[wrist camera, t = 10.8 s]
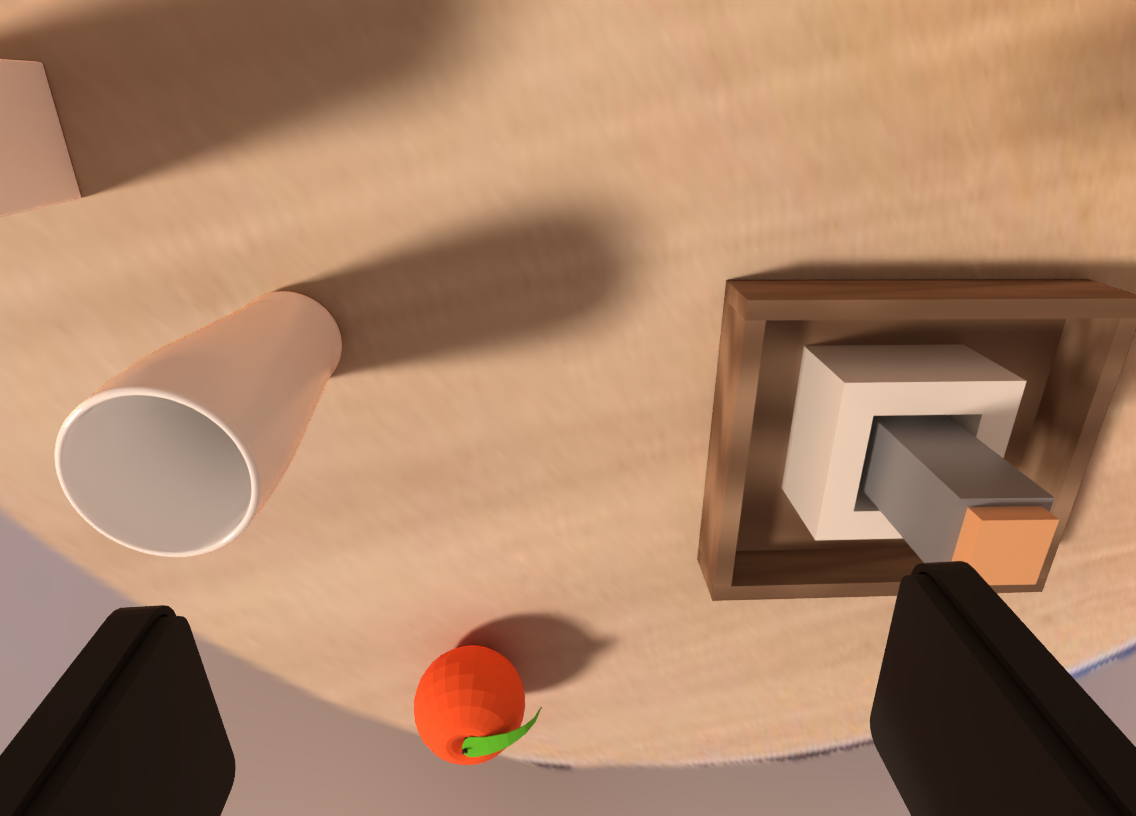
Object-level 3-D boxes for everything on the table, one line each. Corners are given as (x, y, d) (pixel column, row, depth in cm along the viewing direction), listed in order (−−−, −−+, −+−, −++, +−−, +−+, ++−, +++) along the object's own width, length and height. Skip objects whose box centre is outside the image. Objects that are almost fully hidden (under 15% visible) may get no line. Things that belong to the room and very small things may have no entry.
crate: (726, 280, 37) (748, 300, 33) (1087, 279, 38) (1147, 298, 34) (697, 559, 44) (712, 600, 41) (1000, 551, 45) (1042, 591, 42)
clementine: (533, 613, 46) (534, 699, 39) (547, 691, 48) (550, 783, 42) (411, 629, 46) (392, 718, 39) (433, 706, 48) (418, 801, 42)
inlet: (803, 345, 38) (844, 382, 33) (963, 344, 39) (1026, 380, 34) (781, 487, 42) (815, 540, 37) (927, 485, 42) (979, 536, 37)
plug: (855, 400, 38) (975, 511, 28) (927, 400, 38) (1072, 511, 28) (841, 465, 39) (950, 593, 29) (911, 465, 39) (1042, 592, 29)
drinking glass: (377, 309, 37) (288, 436, 23) (333, 414, 39) (228, 586, 25) (249, 251, 35) (72, 351, 22) (211, 364, 38) (30, 519, 24)
